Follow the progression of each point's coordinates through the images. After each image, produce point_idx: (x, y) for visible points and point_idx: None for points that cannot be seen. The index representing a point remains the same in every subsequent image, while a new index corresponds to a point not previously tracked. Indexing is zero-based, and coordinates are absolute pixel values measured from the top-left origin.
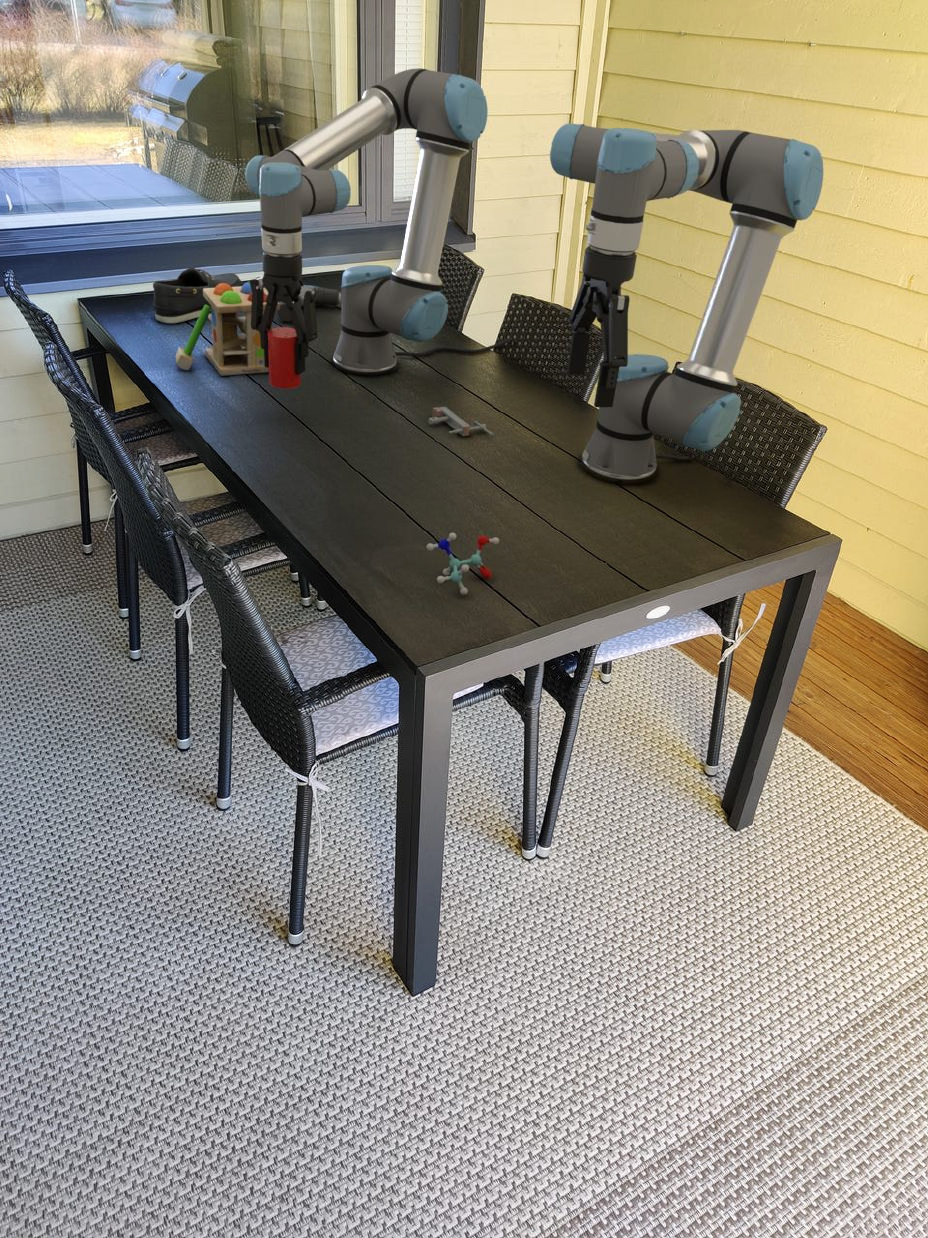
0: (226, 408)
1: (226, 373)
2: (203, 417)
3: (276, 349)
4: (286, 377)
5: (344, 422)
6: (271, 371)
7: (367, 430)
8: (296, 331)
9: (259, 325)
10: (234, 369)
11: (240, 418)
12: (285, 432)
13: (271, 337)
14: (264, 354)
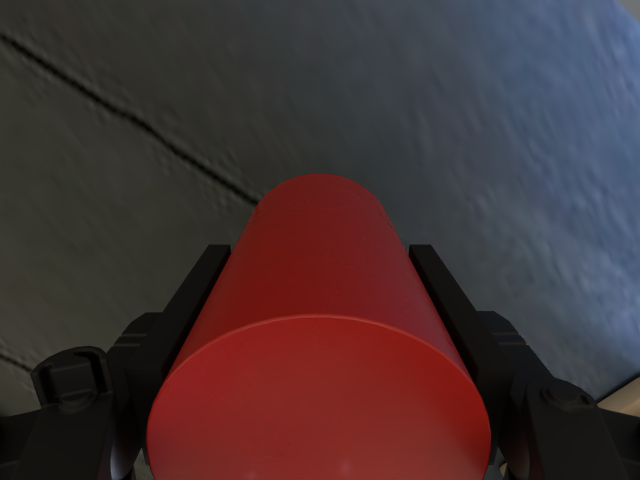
0: (542, 184)
1: (635, 385)
2: (590, 71)
3: (313, 249)
4: (266, 203)
5: (171, 282)
6: (359, 199)
7: (82, 268)
8: (84, 477)
9: (627, 465)
10: (620, 407)
11: (465, 137)
12: (276, 117)
13: (379, 308)
14: (451, 277)
